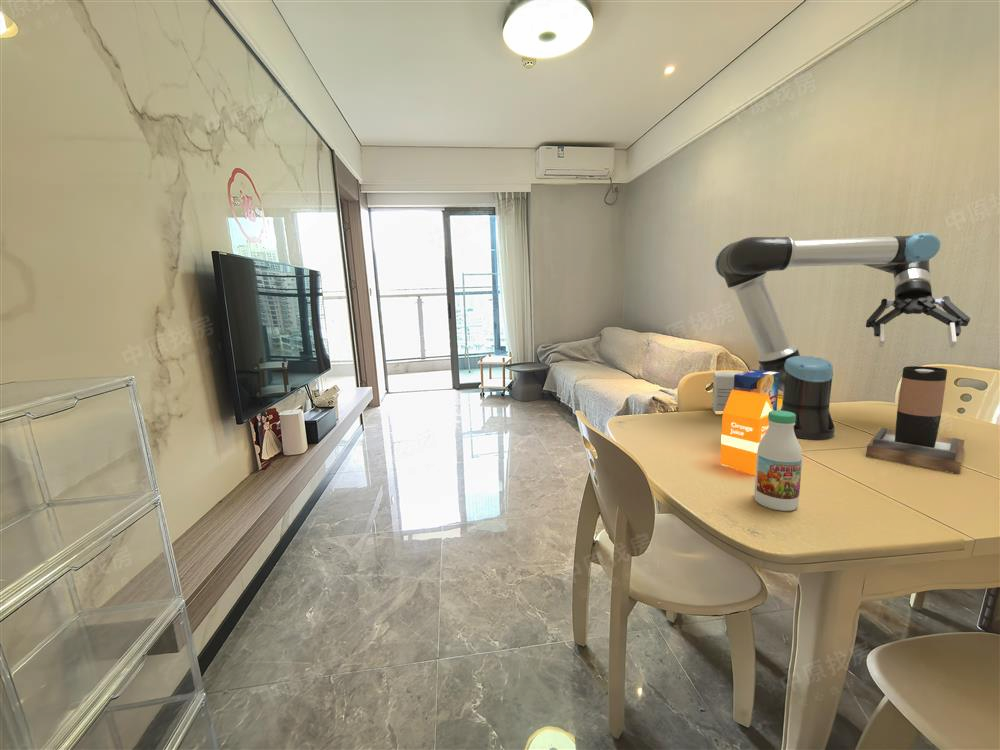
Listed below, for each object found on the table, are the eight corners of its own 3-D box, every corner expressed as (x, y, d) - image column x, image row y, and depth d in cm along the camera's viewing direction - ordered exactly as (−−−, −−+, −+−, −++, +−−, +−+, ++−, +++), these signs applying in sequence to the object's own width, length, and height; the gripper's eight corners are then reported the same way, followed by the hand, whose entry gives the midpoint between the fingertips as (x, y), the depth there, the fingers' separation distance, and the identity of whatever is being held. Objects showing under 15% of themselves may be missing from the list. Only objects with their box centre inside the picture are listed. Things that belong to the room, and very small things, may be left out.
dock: (865, 456, 102) (868, 438, 101) (880, 434, 116) (882, 418, 115) (959, 474, 90) (962, 453, 89) (963, 447, 104) (966, 429, 103)
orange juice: (755, 476, 95) (760, 397, 91) (719, 465, 102) (723, 391, 99) (771, 467, 99) (776, 392, 95) (735, 457, 106) (739, 387, 103)
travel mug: (916, 438, 103) (926, 365, 100) (945, 449, 96) (958, 370, 92) (884, 439, 104) (894, 366, 100) (911, 450, 97) (922, 371, 93)
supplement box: (711, 408, 153) (713, 371, 150) (738, 410, 149) (740, 372, 146) (714, 415, 144) (715, 376, 142) (742, 416, 141) (744, 376, 138)
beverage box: (774, 446, 112) (779, 372, 109) (756, 455, 107) (761, 377, 103) (749, 440, 118) (753, 369, 114) (730, 448, 112) (734, 374, 108)
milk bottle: (745, 495, 86) (750, 409, 82) (778, 492, 86) (784, 406, 83) (772, 513, 78) (779, 419, 75) (808, 510, 79) (816, 416, 75)
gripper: (972, 293, 110) (981, 353, 102) (854, 299, 126) (853, 351, 117) (981, 274, 105) (991, 335, 97) (857, 283, 121) (856, 336, 112)
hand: (916, 344), depth 107 cm, fingers open, 13 cm apart
